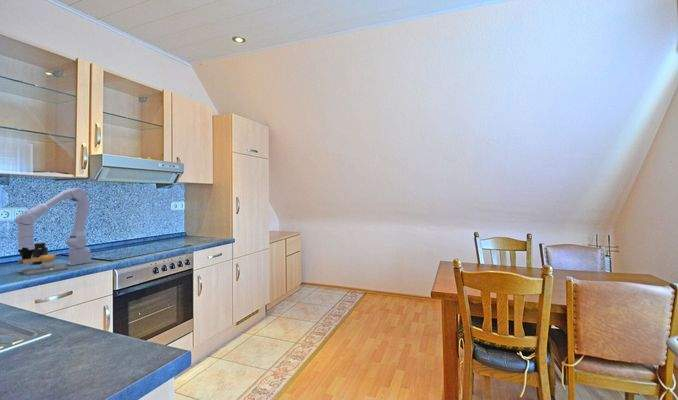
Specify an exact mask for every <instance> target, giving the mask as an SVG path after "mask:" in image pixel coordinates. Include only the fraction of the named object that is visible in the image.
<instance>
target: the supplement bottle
mask: <svg viewBox="0 0 678 400" xmlns="http://www.w3.org/2000/svg"><path fill="white" fill-rule="evenodd" d="M46 244H47V243H46V242H36V243H35V242H34V249H35V250H34V252H33V254H32V257H31V258H38V257H40V256H42V255H48V254H49V249H48V247H47V245H46ZM31 264H32V265H42V261H37V262H31Z"/></svg>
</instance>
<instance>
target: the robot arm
mask: <svg viewBox="0 0 678 400" xmlns="http://www.w3.org/2000/svg"><path fill="white" fill-rule="evenodd" d="M65 200H71V201H73V202H74V203H75V204H76V210H75V211H76V212H75V215H74V216H75V217H74V221H73V227H72V231H71V232H70V234H69V236H68V238H67V240H66V246H68V262H66V264H67V265H69V266H75V265H82V264H88V263H92V254H91V248H90V247H88V246H87V245H88V240H87V234H86V232H85V231H86V226H87V218H88V214H89V208H90V199H89V198H88V195H87V192H86V190H84V189H83V188H81V187H68V188H66V189H65V190H62V191H61V192H59V193H57V194H56V195H55V196H53V197H52V198H50V199H49V200H47V201H45V202H44V203H38V204H37V203H34V204H33V206H32V207H31V208H29V209H27V210H26V209H25V210H24V211H23V213H19V214H18V215H16V217H15V219H14V222H15V223H16V224H17V243H18V244H17V245H15V246H14V248H18V249H17V252H18V253H19V255H20V256H21V259H30V258H32V254H33V252H34V250H35V249H34V248H35V247H34V244H35V238H34V223H35V222H36V220H37V219H38V218H40V217H42V216H44V215H45V214H47V213H48V212H49V211H50V208H51V207H53V206H55V205H57V204H59V203H61V202H62V201H65Z"/></svg>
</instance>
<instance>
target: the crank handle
mask: <svg viewBox="0 0 678 400" xmlns="http://www.w3.org/2000/svg"><path fill="white" fill-rule="evenodd" d="M51 260H53V261H55V260H56V253H55V254H54V253H51V254H49V253H48V255H42V256H40V257H38V258H32V257H31V258H30V259H22V258H19V259H17V262H18V263H17V265H23V264H28V263H32V262H37V261H51Z"/></svg>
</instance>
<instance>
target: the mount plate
mask: <svg viewBox="0 0 678 400" xmlns="http://www.w3.org/2000/svg"><path fill="white" fill-rule="evenodd" d="M67 270H68V267H67V266H64V265H63V264H54V260H51V261H42V264H41V266H38V267H32V268H24V269H21V273H22V274H24V275H25V274H26V275H25V276H27V277H29V276H30V275H32V276H36V275H37V274H38V275H43V274H48V273H54V272H55V273H56V272H61V271H67Z"/></svg>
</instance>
